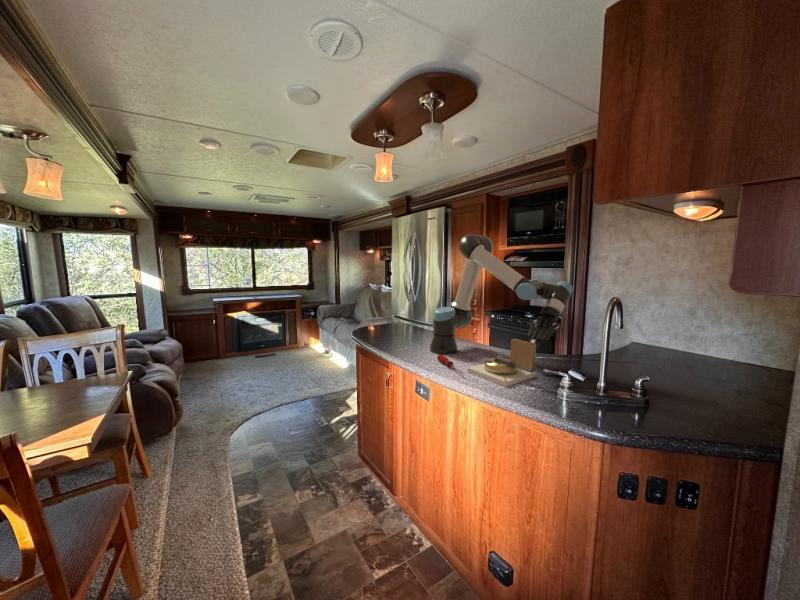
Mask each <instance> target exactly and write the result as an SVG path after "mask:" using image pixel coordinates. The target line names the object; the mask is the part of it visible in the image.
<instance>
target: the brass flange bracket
mask: <svg viewBox="0 0 800 600" xmlns="http://www.w3.org/2000/svg"><path fill="white" fill-rule="evenodd" d="M536 351H537V349H536V344H535V343H530V342H529V341H526V340H521V339H518V338H511V340H510V354H509V355H510V357H509V358H504V357H503V356H502V355H497V356H496V357H489V358H485V359H484V363H485V370H487V371H488V372H491V373H494V374H499V375H513V374H516V373H518V369H520V370H523V371H526V372H530V373H533V372H535V373H536V370H535V369H536V368H535V367H536V353H537V352H536Z"/></svg>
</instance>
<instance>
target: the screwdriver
mask: <svg viewBox="0 0 800 600" xmlns="http://www.w3.org/2000/svg"><path fill="white" fill-rule="evenodd" d="M436 357H437V358H436V359H437V360H438V362H440V363H441V364H443V365H446V366H447V368H448V369H451V368H453V369H455V370H456V371H457V372H459V373H460V374H462V375H465V373H464V372H462V371H461V370H460V369H458V368H457V367H455V366H454V362H453V361H452V360H449V358H448V357H446V356H445V355H444V354H439V353H438V355H437V356H436Z"/></svg>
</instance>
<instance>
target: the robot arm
mask: <svg viewBox="0 0 800 600" xmlns="http://www.w3.org/2000/svg"><path fill="white" fill-rule="evenodd" d="M458 250H459V252H460V254H462V256H464V259H465V264H464V267H463V271H462V273H461V274H462V275H461V278H460V282H459V285H458V288H457V292H456V296H455V299H454V301H452V302H451V304H450V306H445V307H443V306H442V307H438V308H435V309H434V312H433V316H432V317H433V323H432V324H433V329H432V330H433V331H432V332H433V333H432V339H431V343H430V345H429V351H430V352H431V353H435V354H438V355H439V354H442V355H449V354H450V355H451V354H454V353H457V352H458V345H457V342H456V337H455V332H456V330H457V329H462V328H465V327H467V326H468V325H470V323H471V322H472V318H473V315H472V307H471V306H470V305H471V302H472V299H473V294H474V291H475V288H476V285H477V281H478V277H479V274H480V270H481V268H483V269H484V270H486V271H487V272H488V273H490V274H491V275H493V276H494V277H495V278H496V279H497V280H499V281H500V282H502V283H503V284H504V285H506V286H507V287H508V288H510V289H511V290H512V291H514V292H515V294H516V296H517V297H518V298H519V299H520V300H522V301H530V300H533V299H537V298H539V299H543V300H546V301H545V304H544V306H543V307H542V309H541V310H540V312H539V316H538V317H537V318H536V319H534V320H533V318H532V319H530V320H529V321H530V325H529V328H528V333H527V338H528V339H529V341H528V342H530V343H535V344H536V350H537V349H538V348H539V345H540V344H541V343H542V344H546V343H547V342H548V340H549V339H550V338H551V337H552V336H553V335H554V333H556V331H558V330H560V325H559V324H558V323H557V321H558V320H559V318H560V316H561V314H562V312H563V310H564V309H565V307H566V305H567V303H568V302H569V299H570V298H571V295H572V293H573V290H574V287H573V285H572V284H571V283H570V282H567V281H565V280H560V281H558V282H556V284H554V283H552V284H551V283H546V282H544V281H539V280H536V279H527V278H526V277H525V276H523V275H522V274H520V273H519V272H518V271H516V270H515V269H514V268H512V267H510V266H509V265H508V264H506V263H505V262H504V261H502V260H501V259H499V258H498V257H496V256H495V255H494V254H492V252H493V250H494V245H493V241H492V240H491V239H490V238H489V237H488V236H485V235H483V234H482V235H481V234H472V233H468V234H465V235H464V236H462V237H461V239H460V240H459V242H458Z"/></svg>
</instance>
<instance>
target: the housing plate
mask: <svg viewBox="0 0 800 600" xmlns="http://www.w3.org/2000/svg"><path fill="white" fill-rule="evenodd" d="M467 373H469V374H472V375H473V376H477V377H480V378H482V379H483V380H486V381H489V380H490V382H493V383H495V384H498V385H500V386H503V387H505V388H506V387H509V386H512V385H515V384H518V383H520V382H524V381H526V380H530V379H532V378H535V377H536V371H535V372H533V373H530V372H526V371H523V370H520V369H518V373H516V374H513V375H499V374H494V373H491V372H488V371H487V370H485V362H484V363H481V364H477V365H473V366H470V367H468V368H467Z"/></svg>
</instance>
